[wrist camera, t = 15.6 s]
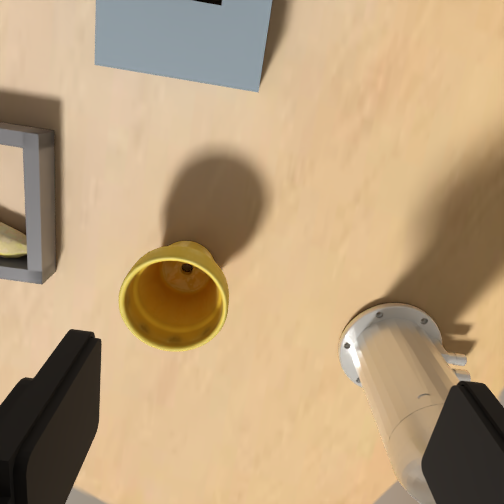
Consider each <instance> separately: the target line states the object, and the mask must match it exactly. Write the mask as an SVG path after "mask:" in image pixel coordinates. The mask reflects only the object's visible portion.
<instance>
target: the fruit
mask: <svg viewBox="0 0 504 504" xmlns="http://www.w3.org/2000/svg"><path fill="white" fill-rule="evenodd" d="M24 255H27V238H26V235H25V234H23V233H22V232H20V231H18V230H16V229H14V228H12V227H10V226H8V225H6V224H4V223H1V222H0V256H1V257H4V258H19V257H22V256H24Z"/></svg>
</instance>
